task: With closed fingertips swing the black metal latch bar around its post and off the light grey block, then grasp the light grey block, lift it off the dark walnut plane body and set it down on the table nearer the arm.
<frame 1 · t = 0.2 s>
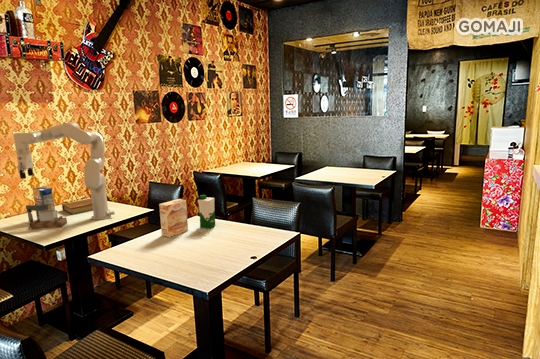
hand: (27, 177, 253), 31 cm above the table, fingers open, 9 cm apart
milk carton: (207, 226, 240), on the table
diary: (83, 210, 287), on the table
light grey block: (49, 220, 247), point 4 cm above the table, touching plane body
post: (32, 227, 247), on the table
lever: (39, 207, 245), point 13 cm above the table, hinge at 0.0°
coffeecake box: (175, 233, 229), on the table
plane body: (49, 226, 248), on the table
beverage box: (46, 219, 263), on the table
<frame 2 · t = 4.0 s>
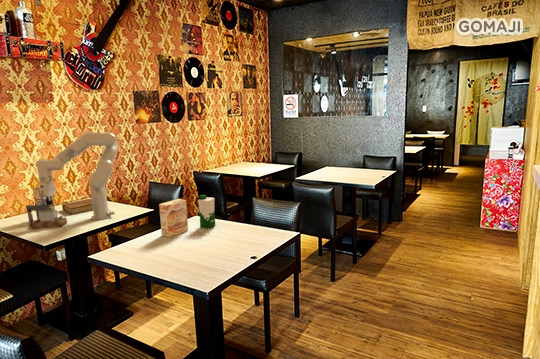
hand: (50, 206, 248), 13 cm above the table, fingers closed
lever: (39, 207, 245), point 13 cm above the table, hinge at 2.6°, touching gripper
everything else where it was.
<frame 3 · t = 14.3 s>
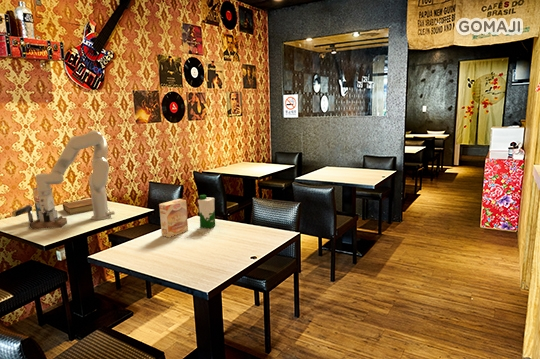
hand: (48, 219, 247), 4 cm above the table, fingers closed on light grey block, 5 cm apart
light grey block: (49, 220, 247), point 4 cm above the table, touching gripper, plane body
lever: (22, 210, 238), point 13 cm above the table, hinge at 98.2°
everything else where it was.
when the fingers open (2 cm above the table, at t = 20.7 s): light grey block drops 2 cm, on the table.
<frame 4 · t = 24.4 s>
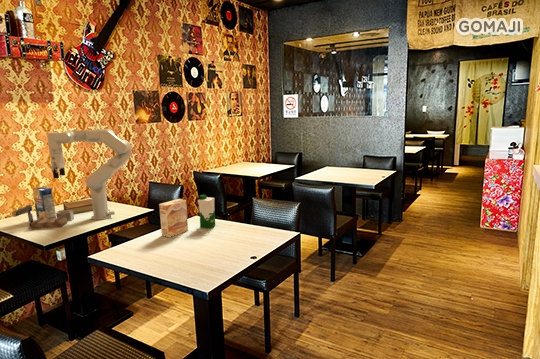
hand: (59, 176, 254), 30 cm above the table, fingers open, 9 cm apart
light grey block: (65, 220, 260), on the table
at the end: lever at +98° (first picture: +0°); light grey block inside the target area (0.1 cm from its centre), on the table; light grey block touching table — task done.
